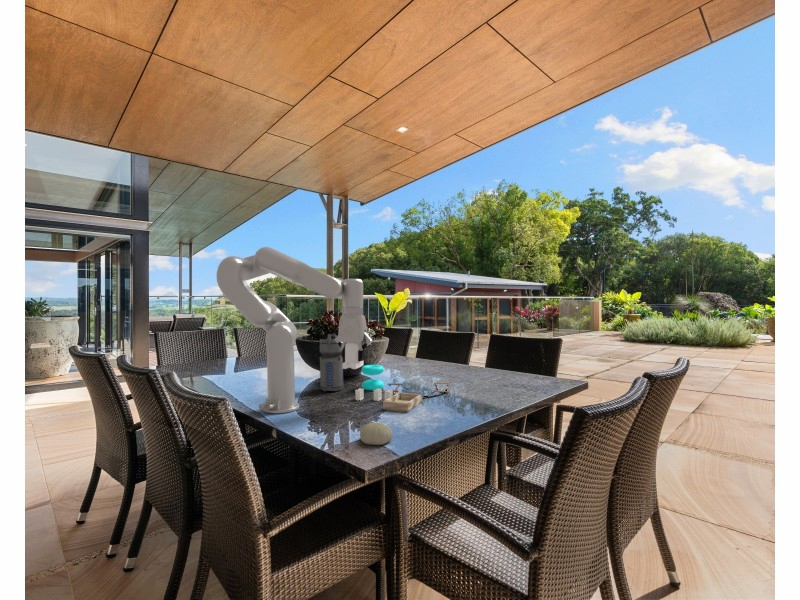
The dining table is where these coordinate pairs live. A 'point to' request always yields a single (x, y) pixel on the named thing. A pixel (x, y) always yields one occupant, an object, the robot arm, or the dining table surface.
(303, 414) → the dining table surface
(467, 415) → the dining table surface
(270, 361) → the robot arm
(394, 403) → the tan shallow tray
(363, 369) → the donuts
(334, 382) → the beverage bottle
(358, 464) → the dining table surface
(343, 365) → the cable organizer
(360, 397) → the cable clips
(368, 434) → the sea urchin shell
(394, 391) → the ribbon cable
